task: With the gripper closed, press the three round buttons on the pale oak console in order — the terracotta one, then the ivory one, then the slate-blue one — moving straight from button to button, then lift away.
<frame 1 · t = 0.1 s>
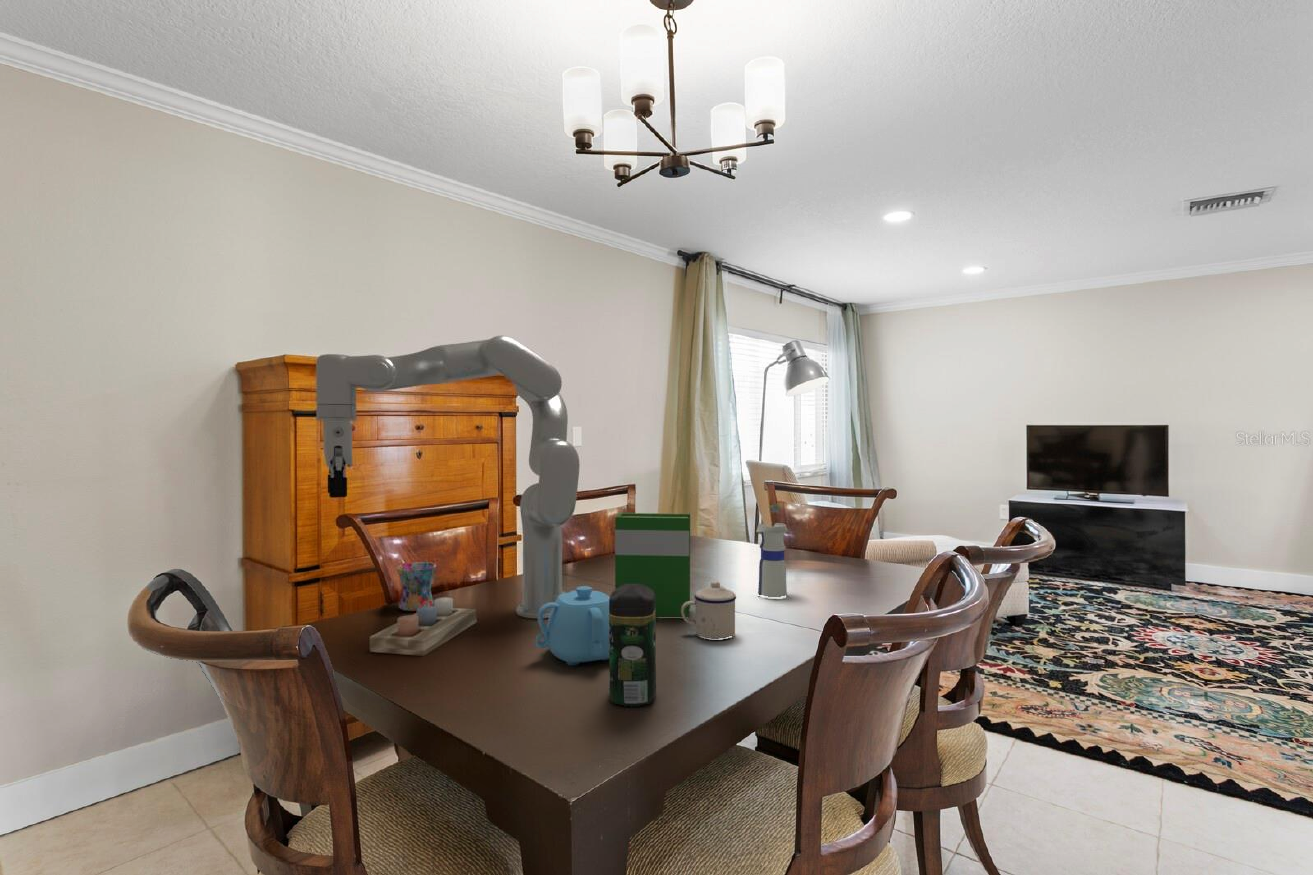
hand: (337, 494, 133), 31 cm above the table, tool pointing down, fingers open, 9 cm apart
button ivory: (443, 607, 144), point 4 cm above the table, slide at 0.0 cm
teacup with lid: (708, 635, 138), on the table
console: (426, 635, 137), on the table
button terracotta: (408, 626, 130), point 4 cm above the table, slide at 0.0 cm
multicolour ceramic cup: (420, 607, 160), on the table
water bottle: (771, 596, 170), on the table
coffee jar: (632, 697, 107), on the table
hardback book: (653, 614, 154), on the table
decorative pot: (584, 656, 126), on the table
button slate: (426, 616, 137), point 4 cm above the table, slide at 0.0 cm
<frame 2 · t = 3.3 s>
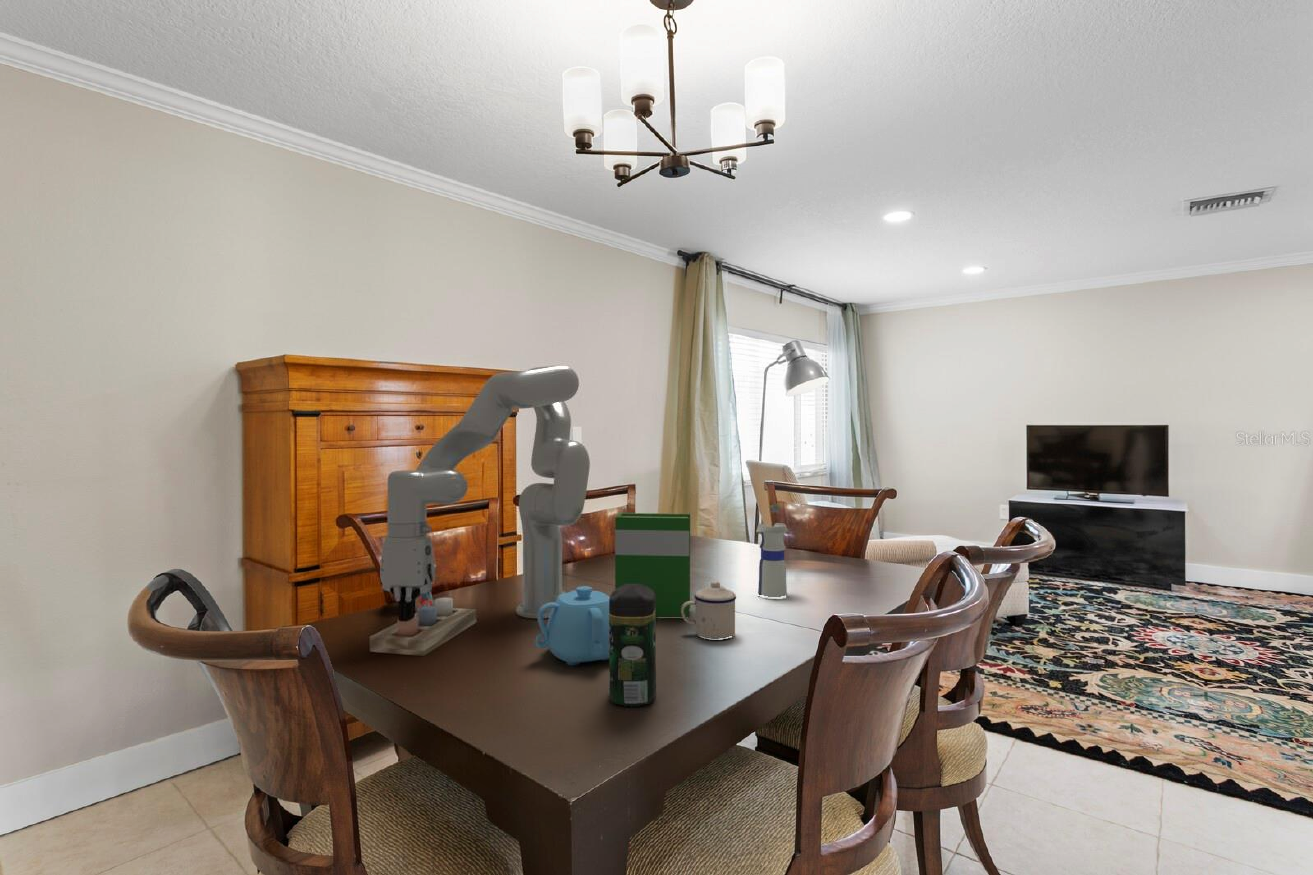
hand: (406, 619, 130), 6 cm above the table, tool pointing down, fingers closed
button terracotta: (408, 628, 130), point 4 cm above the table, slide at 0.2 cm, touching gripper
everything else where it was.
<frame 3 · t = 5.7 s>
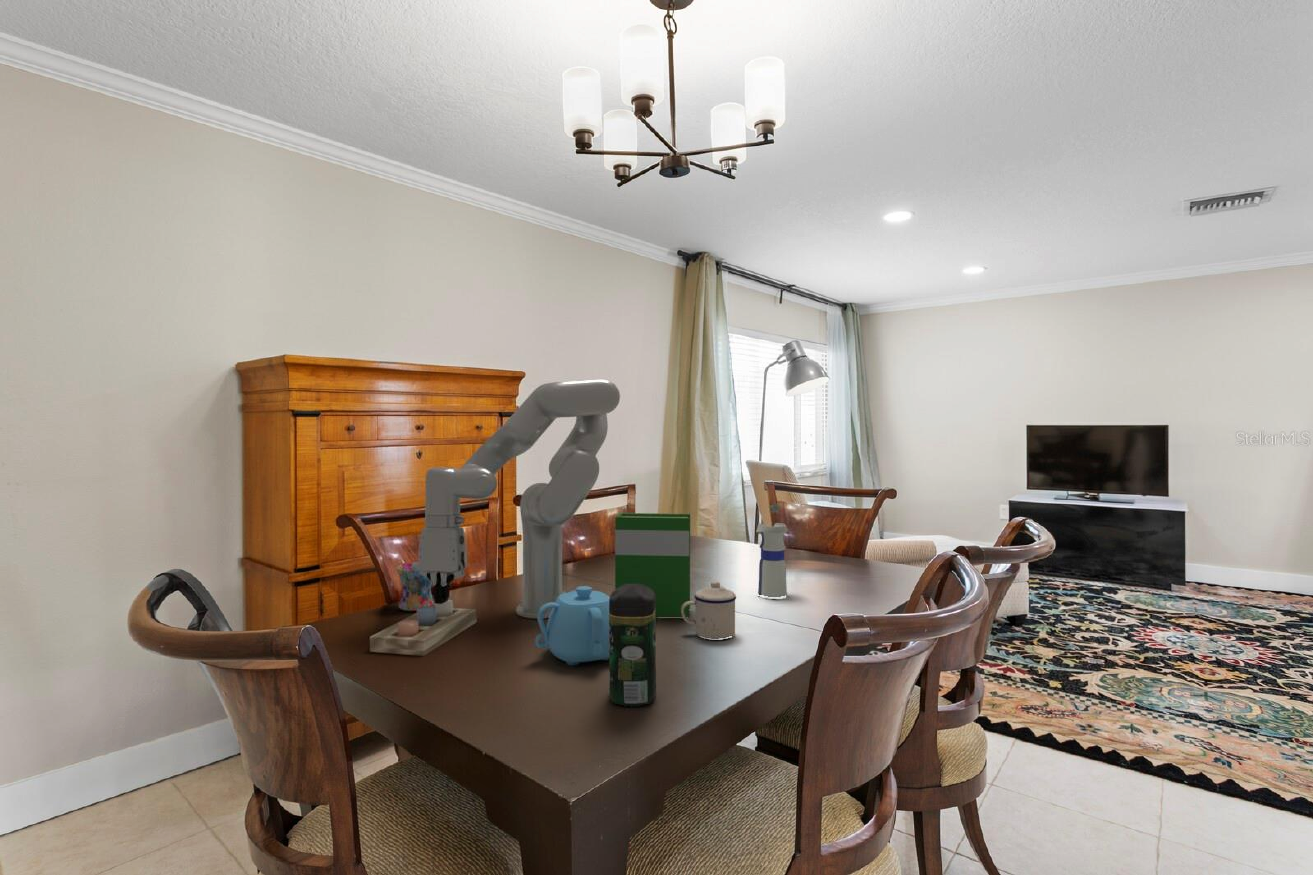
hand: (441, 601, 144), 6 cm above the table, tool pointing down, fingers closed
button ivory: (443, 609, 144), point 4 cm above the table, slide at 0.5 cm, touching gripper
button terracotta: (408, 631, 130), point 3 cm above the table, slide at 1.0 cm
everything else where it was.
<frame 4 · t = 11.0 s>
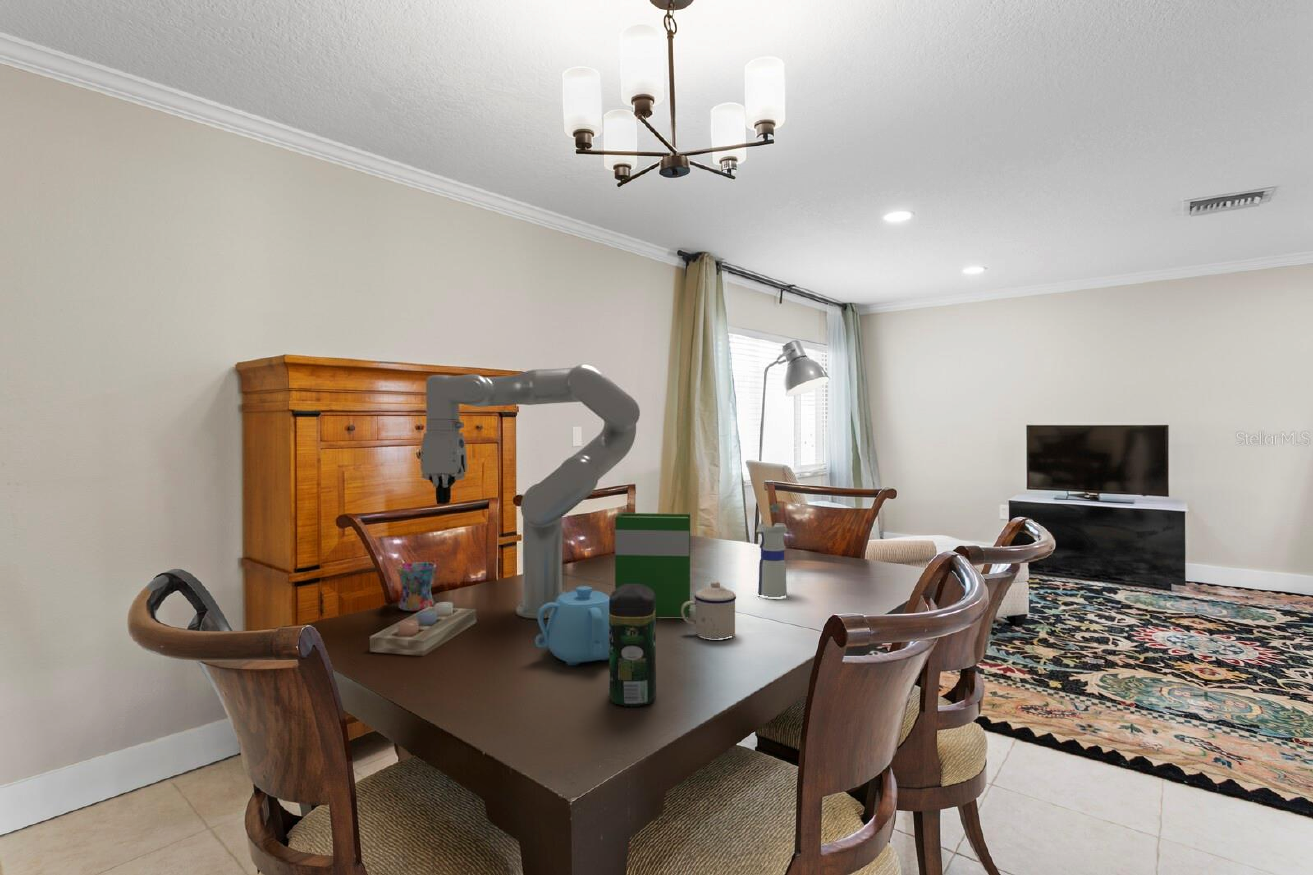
hand: (443, 503, 151), 27 cm above the table, tool pointing down, fingers closed
button ivory: (443, 612, 144), point 3 cm above the table, slide at 1.0 cm
button slate: (426, 621, 137), point 3 cm above the table, slide at 1.0 cm
everything else where it was.
at the end: button terracotta slide at 1.0 cm; button ivory slide at 1.0 cm; button slate slide at 1.0 cm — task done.
